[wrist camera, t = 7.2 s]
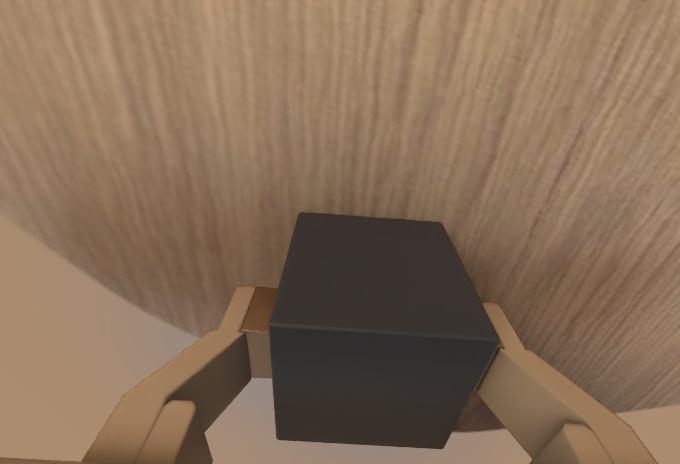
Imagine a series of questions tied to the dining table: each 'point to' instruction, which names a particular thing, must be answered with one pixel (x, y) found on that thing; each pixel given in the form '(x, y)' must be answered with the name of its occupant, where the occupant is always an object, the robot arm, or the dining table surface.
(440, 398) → the block
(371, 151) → the dining table surface
